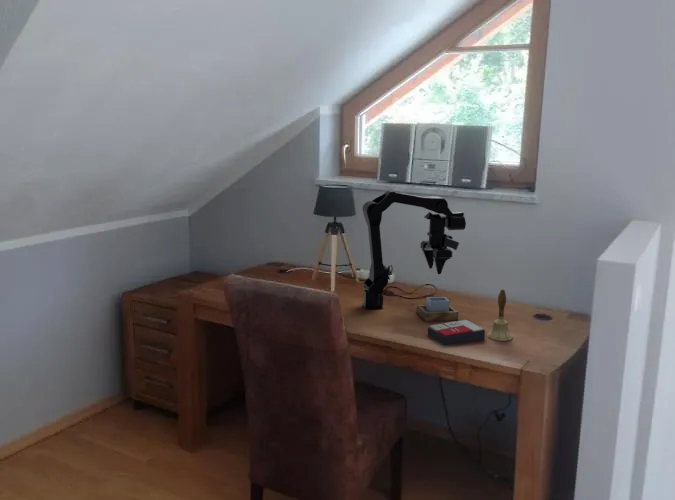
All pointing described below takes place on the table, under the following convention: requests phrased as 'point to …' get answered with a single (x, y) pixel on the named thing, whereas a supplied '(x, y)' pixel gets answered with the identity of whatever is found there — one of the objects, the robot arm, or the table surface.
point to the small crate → (437, 304)
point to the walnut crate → (437, 314)
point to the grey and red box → (456, 332)
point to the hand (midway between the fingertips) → (434, 271)
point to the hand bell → (500, 322)
